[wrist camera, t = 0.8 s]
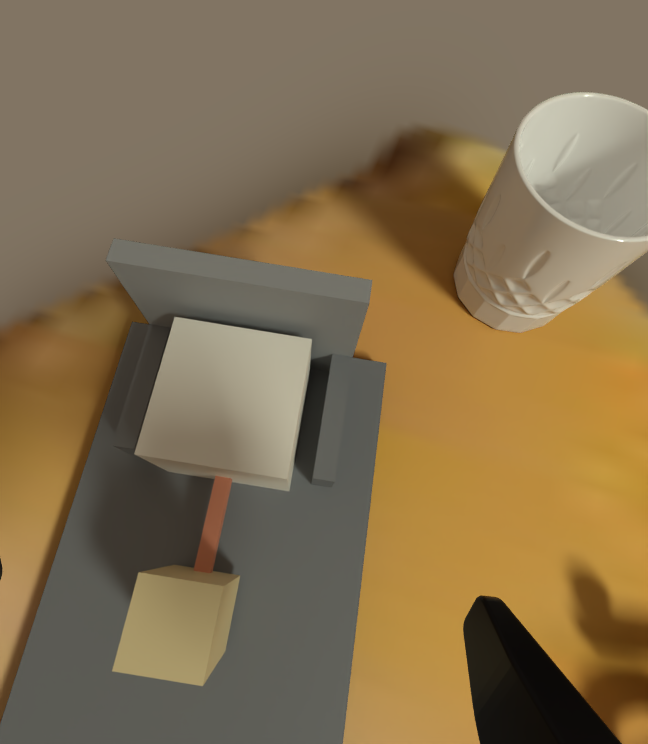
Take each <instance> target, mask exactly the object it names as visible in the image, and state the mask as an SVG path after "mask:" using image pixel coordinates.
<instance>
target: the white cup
mask: <svg viewBox="0 0 648 744" xmlns="http://www.w3.org/2000/svg"><path fill="white" fill-rule="evenodd" d="M647 251H648V110H647V109H645V108H643V107H641V106H639V105H637V104H635V103H633V102H630V101H628V100H625V99H622V98H619V97H615V96H611V95H606V94H601V93H591V92H575V93H567V94H562V95H558V96H555V97H552V98H549V99H547V100H545V101H543V102H541V103H539V104H538V105H536V106H535V107H534V108H532V109H531V110H530V111H529V112H528V113H527V114H526V115H525V117H524V118H523V119H522V121H521V122H520V124H519V126H518V128H517V130H516V132H515V134H514V137H513V139H512V141H511V143H510V145H509V147H508V149H507V151H506V154H505V156H504V158H503V160H502V162H501V164H500V166H499V168H498V170H497V172H496V174H495V177H494V179H493V181H492V183H491V185H490V187H489V189H488V191H487V193H486V195H485V197H484V199H483V201H482V204H481V206H480V208H479V210H478V212H477V215H476V217H475V219H474V222H473V225H472V227H471V229H470V231H469V233H468V236H467V241H466V243H465V245H464V247H463V249H462V251H461V253H460V256H459V259H458V262H457V265H456V268H455V271H454V280H455V285H456V290H457V294H458V298H459V299H460V300H461V301H462V303H463V304H464V305H465V307H466V308H467V309H468V311H469V312H470V313H471V315H472V316H473V317H475V318H477V319H478V320H480V321H482V322H483V323H485V324H487V325H489V326H490V327H492V328H494V329H497V330H504V331H510V332H517V333H522V332H525V331H528V330H532V329H535V328H538V327H542V326H544V325H545V324H547V323H548V322H549V321H551V320H552V319H553V318H554V317H556V316H557V315H558V314H560V313H561V312H562V311H564V310H565V309H567V308H569V307H571V306H572V305H574V304H576V303H578V302H579V301H580V300H582V299H583V298H585V297H586V296H587V295H589V294H590V293H591V292H593V291H594V290H596V289H598V288H599V287H600V286H602V285H603V284H605V283H606V282H607V281H609V280H610V279H611V278H613V277H614V276H615V275H617V274H618V273H619V272H621V271H622V270H623V269H625V268H626V267H627V266H629V265H630V264H631V263H632V262H634V261H635V260H637V259H638V258H639V257H641V256H642V255H643V254H645V253H646V252H647Z"/></svg>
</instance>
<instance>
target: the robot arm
mask: <svg viewBox="0 0 648 744" xmlns="http://www.w3.org/2000/svg"><path fill="white" fill-rule="evenodd" d="M1 576H2V564H1V559H0V579H1ZM463 632H464V641H465V648H466V656H467V664H468V672H469V679H470V687H471V695H472V703H473V709H474V716H475V721H476V726H477V731H478V736H479V740H480V744H622V743H621V742H620V741H619V740H618V739H617V737H616V736H615V735H614V734H613V733H612V731H611V730H610V729H609V728H608V727H607V725H606V724H605V723H604V722H603V721H602V719H601V718H600V717H599V716H598V715H597V713H596V712H595V711H594V710H593V709H592V708H591V706H590V705H589V704H588V703H587V702H586V700H585V699H584V698H583V697H582V696H581V694H580V693H579V692H578V691H577V690H576V688H575V687H574V686H573V685H572V684H571V682H570V681H569V680H568V679H567V678H566V676H565V675H564V674H563V673H562V672H561V670H560V669H559V668H558V667H557V666H556V664H555V663H554V662H553V661H552V660H551V658H550V657H549V656H548V655H547V654H546V652H545V651H544V650H543V649H542V648H541V646H540V645H539V644H538V643H537V642H536V640H535V639H534V638H533V637H532V636H531V634H530V633H529V632H528V631H527V630H526V628H525V627H524V626H523V625H522V624H521V622H520V621H519V620H518V619H517V618H516V616H515V615H514V614H513V613H512V612H511V610H510V609H509V608H508V607H507V606H506V604H505V603H504V602H503V601H502V600H501V599H499V598H497V597H490V596H479V597H477V598H476V600H475V602H474V604H473V605H472V607H471V609H470V611H469V613H468V614H467V616H466V618H465V621H464V626H463Z"/></svg>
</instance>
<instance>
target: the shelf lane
mask: <svg viewBox="0 0 648 744" xmlns="http://www.w3.org/2000/svg"><path fill="white" fill-rule="evenodd" d="M106 262H107V263H108V265H109V266H110V268H111V269H112V270H113V272H114V273H115V275H116V276H117V278H118V279H119V281H120V282H121V284H122V285H123V286H124V288H125V289H126V291H127V292H128V294H129V295H130V297H131V298H132V299H133V301H134V302H135V304H136V305H137V307H138V308H139V310H140V311H141V312H142V314H143V315H144V317H145V318H146V320H147V321H148V323H149V324H143V323H137V322H132V324H131V327H130V330H129V333H128V336H127V339H126V342H125V345H124V348H123V351H122V354H121V358H120V361H119V364H118V367H117V370H116V373H115V376H114V379H113V382H112V385H111V388H110V391H109V394H108V397H107V400H106V403H105V406H104V409H103V412H102V415H101V418H100V421H99V425H98V428H97V431H96V434H95V437H94V440H93V443H92V446H91V449H90V452H89V455H88V458H87V461H86V464H85V467H84V470H83V473H82V476H81V479H80V482H79V485H78V489H77V492H76V495H75V498H74V501H73V504H72V507H71V510H70V513H69V516H68V519H67V522H66V525H65V528H64V531H63V534H62V537H61V540H60V543H59V546H58V549H57V552H56V556H55V559H54V562H53V565H52V568H51V571H50V574H49V577H48V580H47V583H46V586H45V589H44V592H43V595H42V598H41V601H40V604H39V607H38V610H37V613H36V616H35V620H34V623H33V626H32V629H31V632H30V635H29V638H28V641H27V644H26V647H25V650H24V653H23V656H22V659H21V662H20V665H19V668H18V671H17V674H16V677H15V680H14V683H13V687H12V690H11V693H10V696H9V699H8V702H7V705H6V708H5V711H4V714H3V717H2V720H1V723H0V744H343V736H344V728H345V719H346V710H347V702H348V693H349V684H350V675H351V667H352V658H353V649H354V641H355V632H356V623H357V615H358V606H359V597H360V589H361V580H362V571H363V562H364V554H365V545H366V536H367V528H368V519H369V510H370V502H371V493H372V484H373V475H374V467H375V458H376V449H377V441H378V432H379V423H380V415H381V406H382V397H383V389H384V380H385V371H386V363H383V362H377V361H370V360H364V359H358V358H353V355H354V352H355V348H356V345H357V342H358V338H359V335H360V332H361V329H362V325H363V322H364V319H365V315H366V312H367V309H368V305H369V301H370V293H371V286H372V280H368V279H361V278H355V277H349V276H343V275H337V274H331V273H324V272H318V271H312V270H306V269H300V268H294V267H288V266H281V265H275V264H269V263H263V262H257V261H251V260H244V259H238V258H232V257H226V256H220V255H214V254H208V253H201V252H195V251H189V250H183V249H177V248H171V247H164V246H158V245H152V244H146V243H140V242H134V241H127V240H121V239H115V238H114V239H113V242H112V244H111V247H110V250H109V252H108V255H107V258H106ZM174 317H179V318H185V319H191V320H198V321H204V322H210V323H216V324H222V325H228V326H234V327H241V328H247V329H253V330H259V331H265V332H271V333H277V334H284V335H290V336H296V337H302V338H308V339H312V345H311V360H310V374H309V381H308V387H307V393H306V399H305V404H304V410H303V416H302V421H301V427H300V433H299V439H298V444H297V450H296V456H295V462H294V467H293V473H292V479H291V484H290V490H289V491H284V490H278V489H271V488H265V487H259V486H253V485H247V484H241V483H235V482H232V484H231V489H230V494H229V498H228V503H227V507H226V512H225V517H224V521H223V526H222V530H221V535H220V540H219V544H218V549H217V553H216V558H215V563H214V567H213V571H216V572H222V573H228V574H235V575H240V580H239V585H238V590H237V595H236V600H235V605H234V610H233V615H232V620H231V625H230V630H229V635H228V640H227V645H226V650H225V652H224V654H223V656H222V657H221V659H220V660H219V662H218V663H217V665H216V666H215V668H214V670H213V671H212V673H211V674H210V676H209V677H208V679H207V680H206V682H205V684H204V685H203V686H199V685H193V684H187V683H180V682H174V681H168V680H162V679H156V678H150V677H144V676H138V675H132V674H126V673H120V672H113V671H112V669H113V666H114V662H115V658H116V655H117V651H118V647H119V643H120V640H121V636H122V632H123V628H124V625H125V621H126V617H127V613H128V610H129V606H130V602H131V599H132V595H133V591H134V587H135V584H136V580H137V576H138V572H142V571H147V570H152V569H156V568H161V567H166V566H170V565H180V566H186V567H192V568H194V567H195V562H196V558H197V554H198V549H199V545H200V541H201V536H202V532H203V528H204V523H205V519H206V515H207V510H208V506H209V502H210V497H211V493H212V489H213V484H214V480H215V479H210V478H204V477H198V476H192V475H186V474H180V473H173V472H168V471H166V470H164V469H162V468H160V467H158V466H156V465H154V464H152V463H150V462H148V461H146V460H145V459H143V458H141V457H139V456H137V455H135V454H134V453H135V450H136V446H137V443H138V440H139V436H140V433H141V429H142V426H143V423H144V419H145V416H146V412H147V409H148V406H149V402H150V399H151V396H152V392H153V389H154V385H155V382H156V379H157V375H158V372H159V368H160V365H161V362H162V358H163V355H164V351H165V348H166V345H167V341H168V338H169V334H170V331H171V328H172V324H173V321H174Z"/></svg>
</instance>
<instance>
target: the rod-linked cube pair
mask: <svg viewBox="0 0 648 744" xmlns="http://www.w3.org/2000/svg"><path fill="white" fill-rule="evenodd" d="M311 345H312V339H308V338H302V337H296V336H290V335H284V334H277V333H271V332H265V331H259V330H253V329H247V328H241V327H234V326H228V325H222V324H216V323H210V322H204V321H198V320H191V319H185V318H179V317H174V321H173V324H172V328H171V331H170V334H169V338H168V341H167V345H166V348H165V351H164V355H163V358H162V362H161V365H160V368H159V372H158V375H157V379H156V382H155V385H154V389H153V392H152V396H151V399H150V402H149V406H148V409H147V412H146V416H145V419H144V423H143V426H142V429H141V433H140V436H139V440H138V443H137V446H136V450H135V453H134V454H135V455H137V456H139V457H141V458H143V459H145V460H146V461H148V462H150V463H152V464H154V465H156V466H158V467H160V468H162V469H164V470H166V471H168V472H173V473H180V474H186V475H192V476H198V477H204V478H210V479H215V480H214V484H213V489H212V493H211V497H210V502H209V506H208V510H207V515H206V519H205V523H204V528H203V532H202V536H201V541H200V545H199V549H198V554H197V558H196V562H195V567H194V568H192V567H186V566H180V565H170V566H166V567H161V568H156V569H152V570H147V571H142V572H138V576H137V580H136V584H135V587H134V591H133V595H132V599H131V602H130V606H129V610H128V613H127V617H126V621H125V625H124V628H123V632H122V636H121V640H120V643H119V647H118V651H117V655H116V658H115V662H114V666H113V669H112V671H113V672H120V673H126V674H132V675H138V676H144V677H150V678H156V679H162V680H168V681H174V682H180V683H187V684H193V685H199V686H203V685H204V684H205V682H206V680H207V679H208V677H209V676H210V674H211V673H212V671H213V670H214V668H215V666H216V665H217V663H218V662H219V660H220V659H221V657H222V656H223V654H224V652H225V650H226V645H227V640H228V635H229V630H230V625H231V620H232V615H233V610H234V605H235V600H236V595H237V590H238V585H239V580H240V575H235V574H228V573H222V572H216V571H213V567H214V563H215V558H216V553H217V549H218V544H219V540H220V535H221V530H222V526H223V521H224V517H225V512H226V507H227V503H228V498H229V494H230V489H231V484H232V482H235V483H241V484H247V485H253V486H259V487H265V488H271V489H278V490H284V491H289V490H290V484H291V479H292V473H293V467H294V462H295V456H296V450H297V444H298V439H299V433H300V427H301V421H302V416H303V410H304V404H305V399H306V393H307V387H308V381H309V374H310V360H311Z"/></svg>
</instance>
